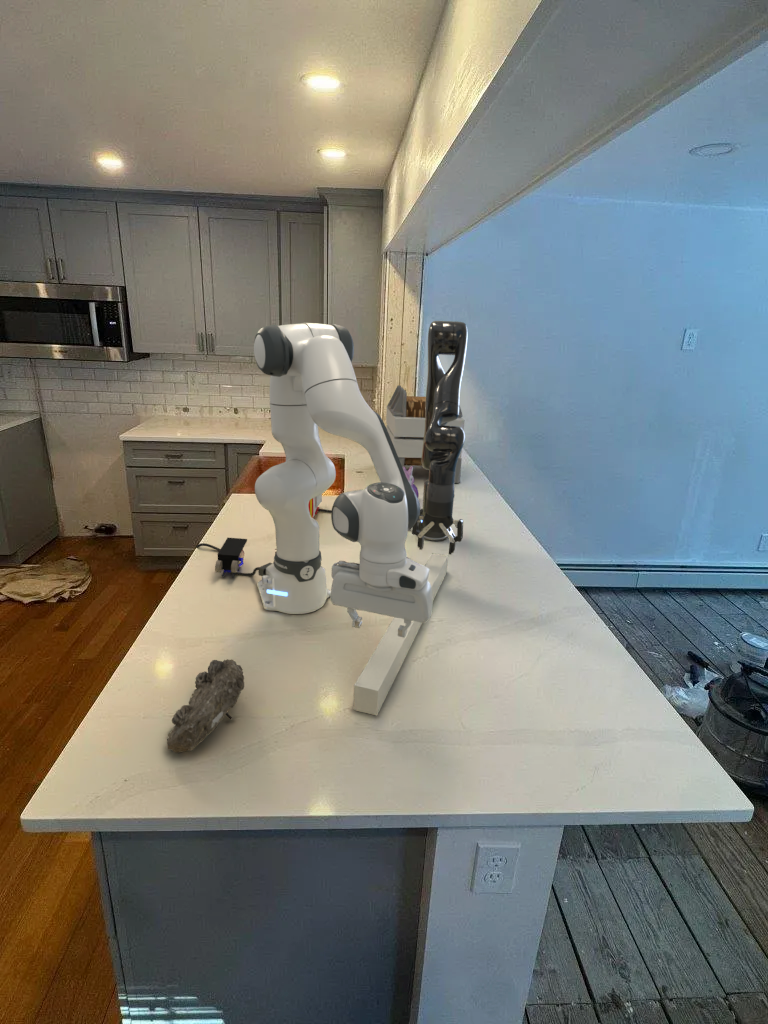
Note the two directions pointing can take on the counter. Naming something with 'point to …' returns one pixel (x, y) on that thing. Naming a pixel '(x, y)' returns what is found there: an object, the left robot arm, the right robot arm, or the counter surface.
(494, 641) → the counter surface
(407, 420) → the grey wooden crate
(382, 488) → the left robot arm
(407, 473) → the figurine
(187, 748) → the fossil
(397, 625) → the beam
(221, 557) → the black wheeled block
